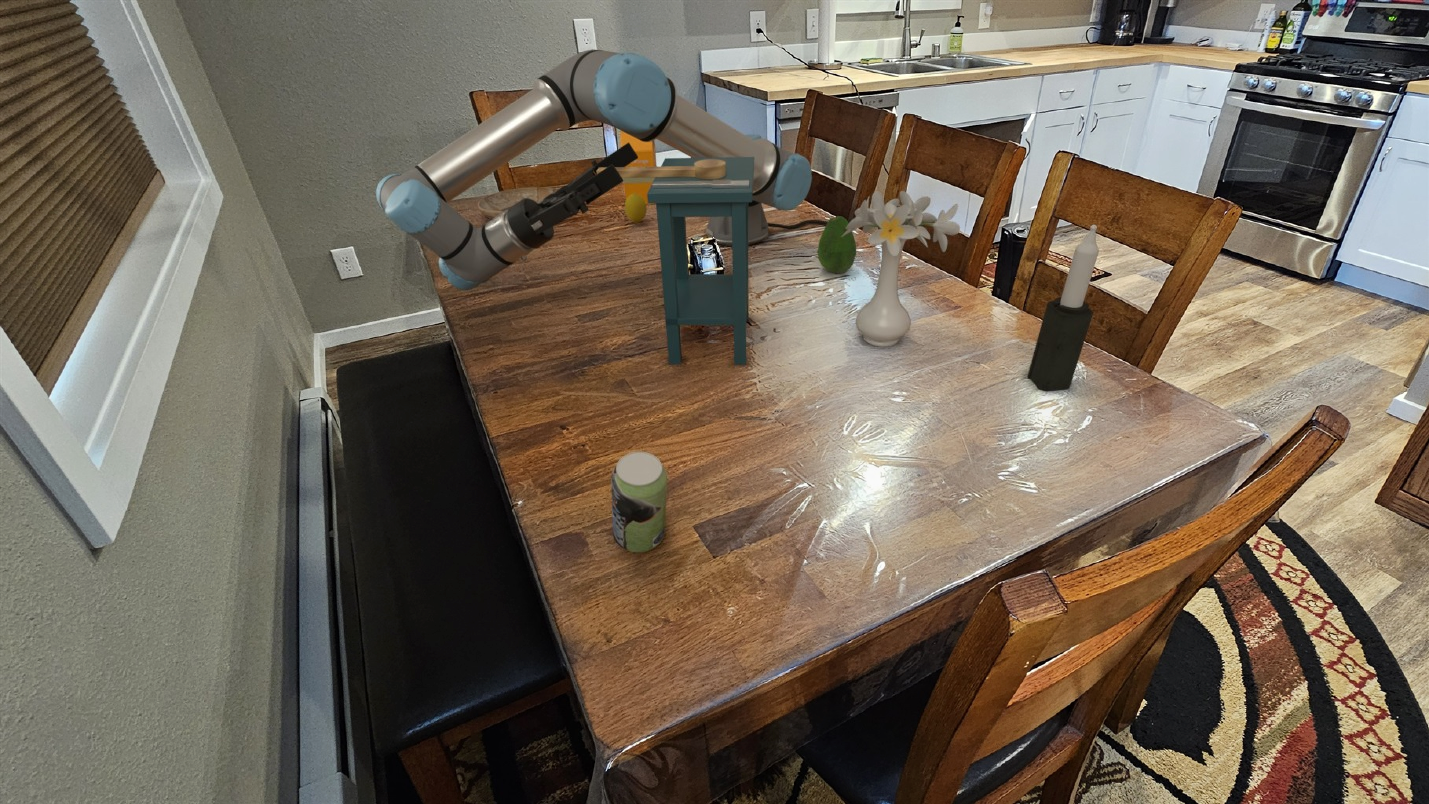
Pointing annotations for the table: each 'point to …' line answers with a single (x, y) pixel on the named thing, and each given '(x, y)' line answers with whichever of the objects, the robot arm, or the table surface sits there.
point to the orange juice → (639, 165)
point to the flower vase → (894, 259)
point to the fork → (703, 184)
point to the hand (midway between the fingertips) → (626, 160)
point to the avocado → (836, 246)
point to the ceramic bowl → (511, 199)
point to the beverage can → (638, 501)
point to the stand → (684, 293)
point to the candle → (1065, 323)
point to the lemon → (635, 208)
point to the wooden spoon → (676, 170)
